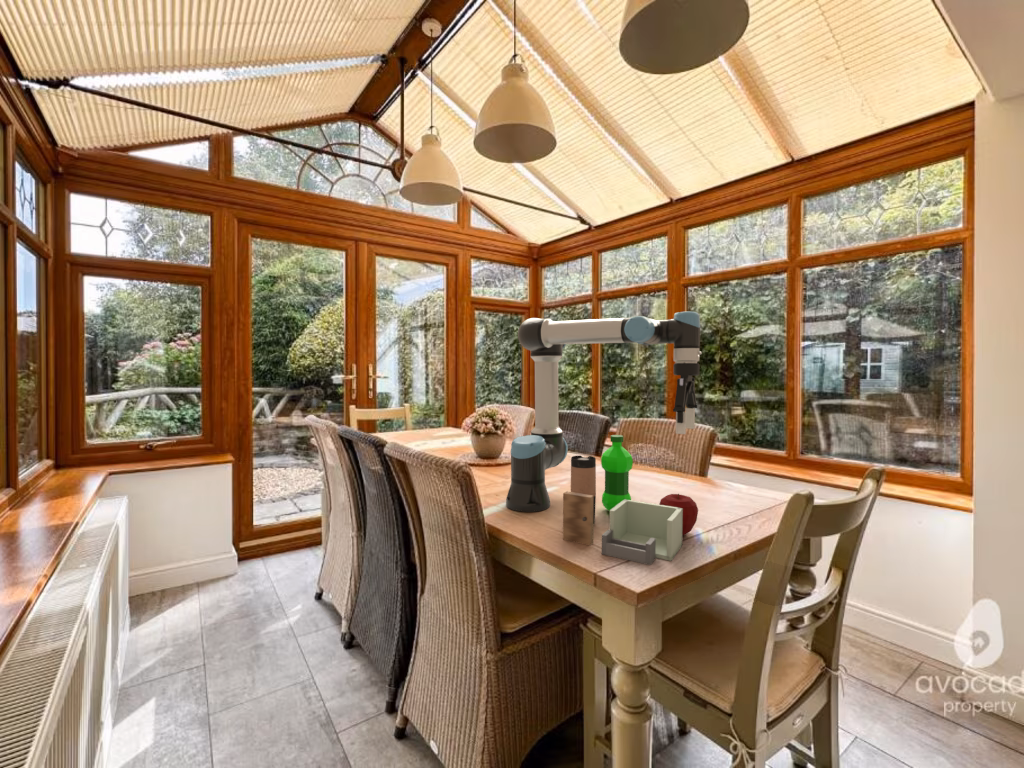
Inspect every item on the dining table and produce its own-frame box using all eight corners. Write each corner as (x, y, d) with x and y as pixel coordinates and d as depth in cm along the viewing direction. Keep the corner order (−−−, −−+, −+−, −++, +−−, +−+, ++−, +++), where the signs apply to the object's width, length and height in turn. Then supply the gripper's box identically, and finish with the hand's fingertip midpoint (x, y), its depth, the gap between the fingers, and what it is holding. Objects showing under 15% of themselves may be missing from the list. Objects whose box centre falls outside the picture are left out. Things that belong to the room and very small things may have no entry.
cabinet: (601, 554, 120) (601, 515, 120) (623, 533, 134) (623, 499, 134) (666, 568, 111) (666, 527, 111) (682, 545, 126) (682, 508, 125)
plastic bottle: (613, 517, 148) (614, 439, 147) (594, 508, 158) (595, 434, 157) (638, 513, 152) (639, 437, 151) (618, 504, 162) (619, 432, 161)
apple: (653, 527, 140) (653, 488, 139) (689, 527, 140) (690, 488, 139) (664, 540, 129) (664, 498, 128) (703, 541, 129) (704, 499, 128)
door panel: (562, 540, 130) (562, 493, 129) (566, 537, 132) (566, 491, 131) (589, 546, 125) (589, 498, 125) (593, 542, 128) (593, 495, 127)
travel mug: (580, 528, 139) (580, 461, 138) (565, 520, 146) (565, 456, 145) (600, 524, 143) (601, 458, 142) (585, 516, 149) (585, 454, 149)
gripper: (691, 362, 132) (690, 437, 133) (706, 362, 153) (705, 427, 154) (663, 362, 136) (663, 435, 137) (682, 362, 157) (681, 425, 158)
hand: (685, 431), depth 146 cm, fingers open, 13 cm apart
